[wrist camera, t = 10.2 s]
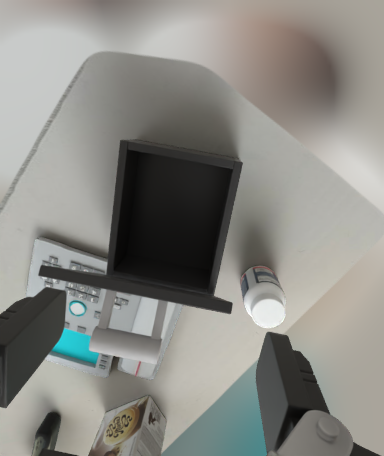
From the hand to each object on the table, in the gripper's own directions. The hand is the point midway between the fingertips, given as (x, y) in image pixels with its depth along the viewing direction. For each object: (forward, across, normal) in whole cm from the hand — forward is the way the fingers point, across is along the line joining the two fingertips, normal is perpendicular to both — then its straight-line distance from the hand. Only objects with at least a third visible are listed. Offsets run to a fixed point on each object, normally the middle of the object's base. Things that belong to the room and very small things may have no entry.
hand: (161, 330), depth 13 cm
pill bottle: (+32, -10, +11) cm, 36 cm away
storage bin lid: (+17, +3, +7) cm, 19 cm away
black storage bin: (+32, +3, +3) cm, 32 cm away
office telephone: (+32, +12, +22) cm, 41 cm away
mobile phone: (+32, +19, +50) cm, 62 cm away
